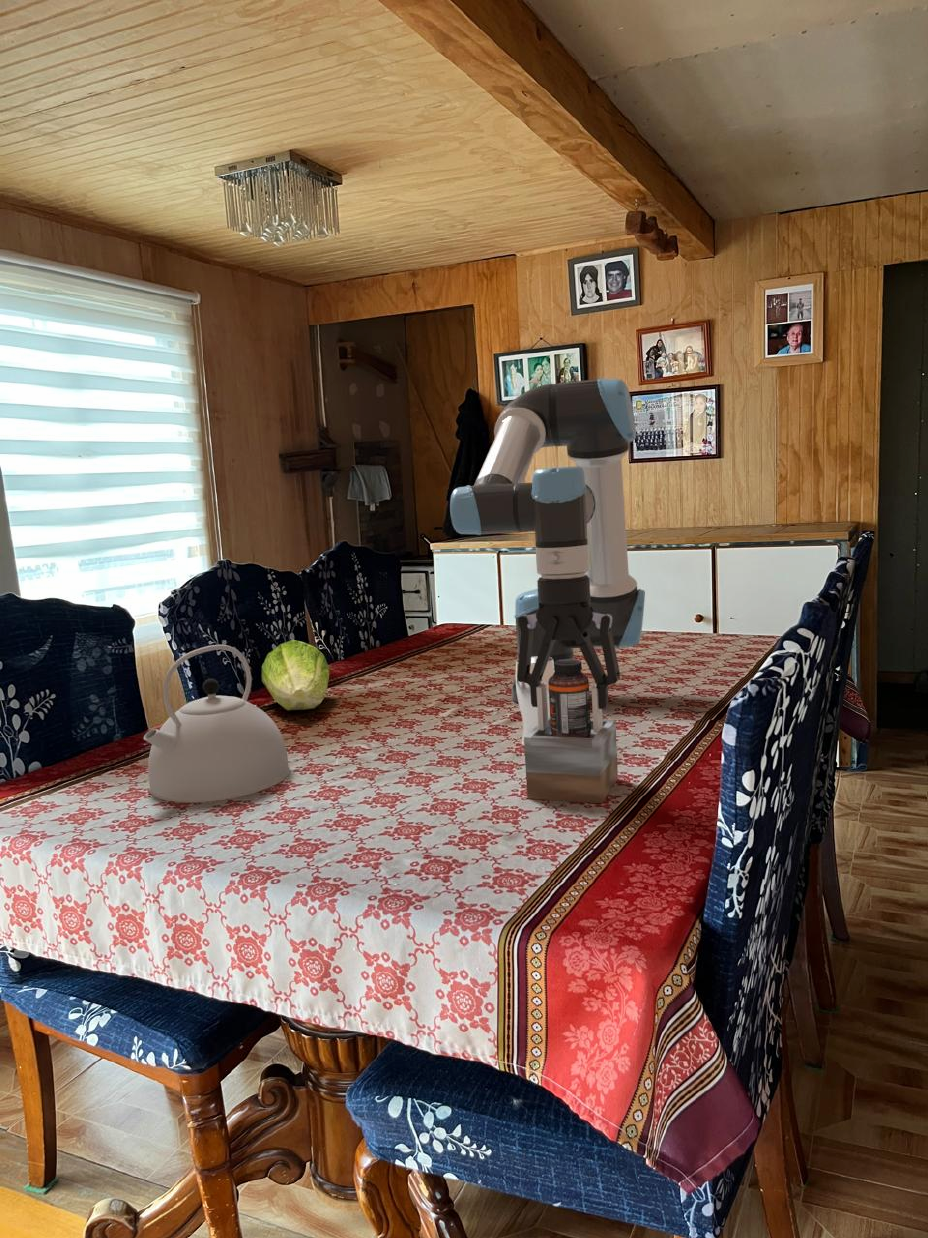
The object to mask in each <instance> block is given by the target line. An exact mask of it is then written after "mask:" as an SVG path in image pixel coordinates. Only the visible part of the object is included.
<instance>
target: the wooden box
mask: <svg viewBox="0 0 928 1238" xmlns="http://www.w3.org/2000/svg"><path fill="white" fill-rule="evenodd" d="M602 721H603V727H602V729H601V730H600V731H599V732H598V733H596V732H593V718H591V734H590V735H589V736H588V737H586V738H577V737H553V736H552V735H551V726H550V718H548V722H549V726H548V727H547V728H546V729H545V730H539V726H538V725H537V726H536V727H535V728H533V729H532V730H531V731H530V732H529V733H528V734H527V735H526V736H525V737H524V763H525V764H524V765H525V766H524V767H525V776H526V777H525V781H526V782H525V783H526V798H527V799H529V800H532V799H534V800H547V801H549V800H550V801H562V802H563V801H564V802H575V803H590V804H591V803H592V804H602V803H603V802H604V801H605V799H606V797H607V796H608V794H609V793H610V792H611V790H612V789H613V787H614V785H615V784H616V782H617V781H618V780H619V774H618V773H619V772H618V771H619V770H618V751H617V750H618V749H617V746H618V745H617V726H616V725H617V724H616V720H615V719H602Z"/></svg>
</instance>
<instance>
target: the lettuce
mask: <svg viewBox="0 0 928 1238" xmlns="http://www.w3.org/2000/svg"><path fill="white" fill-rule="evenodd" d="M329 679H330V667H329V665H328V662H327V660H326V657H325V655H324V654H323V653H322V652H321V651H320V650H319V649H318V648H317V647H316V646H314V645H311V644H309V643H306V642H304V641H300V640H295V639H291V640H289V641H286V642H283V643H281V644H279V645H278V646H277V647H275V648H273V650H271V651H270V652H268V653H267V655H266V657H265V659H264V662H263V663H262V666H261V682H262V683H263V685H264V686H265V688H266V689H267V691H268V692H269V693H270V694H269V695H270V696H271V697H272V699H274V701H275V702H276V703H278V704H279V705H280V706H281V707H283V708H284V709H285V710H287V711H304V710H305V711H306V710H311V709H315V708H317V707H318V706H319V705H320V704H321V703H322V701H323V700H324V699H325V698H324V697H325V695H326V693H327V691H328V684H329V681H330V680H329Z"/></svg>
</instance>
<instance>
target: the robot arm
mask: <svg viewBox="0 0 928 1238" xmlns="http://www.w3.org/2000/svg"><path fill="white" fill-rule="evenodd" d="M634 414H635V413H634V409H633V401H632V398H631V394H630V391H629V388H628V385H627V384H626V383H625V381H623V380H622V379H620V378H596V379H594V378H593V379H587V380H586V379H585V380H577V381H570V382H568V381H567V382H559V383H547V384H542V385H538V386H535V387H533V388H530V389H528V390H526V391H525V392H523V393H522V394H520V395H518V396H517V397H516V398H515V399H513V400H512V401H510V402H509V403H508V404H507V405H506V406H505V407H504V408H503V410H501V412H500V414H499V415H498V418H497V420H496V422H495V424H494V429H493V435H494V440H493V441H492V445H491V446H490V448H489V451H488V453H487V455H486V458H485V460H484V462H483V464H482V467H481V469H480V471H479V474H478V475H477V477H476V479H475V482H474V485H470V484H469V485H466V486H459V487H456V488H455V489H453V491H452V493H451V495H450V502H449V503H450V505H449V512H450V519H451V524H452V527H453V529H454V530H455V531H456V533H458V534H460V535H477V536H481V535H489V534H490V535H491V534H504V533H521V532H524V533H525V532H527V533H528V532H534V537H535V541H534V542H535V561H536V562H535V563H536V573H537V575H540V577H539V578H538V579H537V581H536V582H537V588H535V589H532V590H528V591H524V592H521V593H520V594H519V595H518V596H517V597H516V598H515V603H514V604H515V612H514V613H515V615H514V619H515V628H516V629H515V630H516V645H517V649H516V650H517V659H519V662H518V673H517V680H518V681H519V682H524V683H527V684H528V685H529V686H530V693H531V704H532V707H537V708H538V726H539V730H545V729H546V728H547V727H548V726H549V722H548V703H547V685H546V683H541V681H542V677H543V674H544V671H545V668H546V666H547V663H548V660H549V657H552V658H553V661H554V662H555V661H557V660H563V659H574V658H575V657H574V649H579V650H580V651H581V654H582V656H583V658H584V660H585V662H586V665H587V666H588V669H589V672H590V673H591V676H592V678H593V681H594V682H595V685H593V687H591V704H592V708H591V709H592V719H593V732H596V733H598V732H599V731H600V730H601V729H602V727H603V721H602V720H603V710H606V709H607V707H608V706H609V686H610V685H612V684H616V683H617V682H618V681H619V680H620V679H621V672H620V671H621V670H620V667H619V661H618V656H617V651H616V649H620V648H628V647H629V648H630V647H635V646H637V645H638V644H639V643H640V642H641V638H642V631H643V624H644V623H643V622H644V611H645V599H646V597H645V596H646V592H645V590H644V589H641V588H639V589H638V582H637V580H636V579H635V578H634V577H633V576H631V575H630V574H629V561H628V559H629V557H628V542H627V527H626V513H625V512H626V511H625V496H624V493H625V492H624V483H623V481H624V480H623V466H622V465H623V464H622V461H623V460H622V459H623V458H624V457H625V456H626V454H627V453H628V452H629V450H630V447H629V443H632V442H633V441H635V439H636V438H637V429H636V423H635V420H636V419H635V415H634ZM550 447H566V451H567V457H568V458H569V459H570V460H572V462H574V463H575V466H560V467H546V468H545V467H544V468H538V469H536V470H534V472H533V473H532V477H531V478H532V481H531V482H525V481H526V480H525V479H526V477H527V474H528V472H529V468H530V466H531V463H532V461H533V458H534V456H535V454H536V453H538V452H539V451H540V450H541V449H542V448H543V449H544V448H550ZM599 648H600V649H601V648H602V653H603V658H604V662H605V663H604V665H605V668H606V672H605V669H604V667H603V664H602V663H601V660H600V657H599V656H598V654H597V652H596V650H595V649H599ZM531 656H538V657H537V660H536V663H535V666H534V668H533V671H532V674H531V673H530V666H531ZM511 700H512V701H513V702H515V703H517V704H519V702H518V697H517V692H516V673H515V675H514V678H513V683H512V686H511Z"/></svg>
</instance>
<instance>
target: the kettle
mask: <svg viewBox="0 0 928 1238" xmlns="http://www.w3.org/2000/svg"><path fill="white" fill-rule="evenodd" d="M215 650H219V651H220V650H223V651H229V652H231V653H233V654H234V655H235V656H237V657H238V658H239V660H240V661H241V663H242V665H243V668H244V671H245V675H246V683H245V690H244V693H243V695H242V698H240V697H237V696H228V695H216V693H218V691H219V690H220V684H219V682H218V681H217V680H216V679H214V678H208V679H206V680H205V681H204V682H203V683H202V690H203V692H204V693H205V694H207V696H205V697H202V698H199V699H198V698H197V699H194V700H192V701H189V702H188V703H186V704H185V705H183V706H181V707H180V708H179V709H178V710H176V711H174V710H173V708H172V705H171V703H170V702H171V701H170V696H169V689H170V687H169V686H170V681H171V679H172V676H173V674H174V672H175V671H176V670H177V668H178V667H179V666H180V665H181V664H183V663H184V662H185V661H187V660H188V659H191V658H193V657H195V656H198V655H201V654H203V653H206V652H211V651H215ZM162 687H163V688H162V691H163V692H162V696H163V697H162V698H163V702H164V707H165V709H166V711H167V714H168V715H169V717H168V718H167V720H166V721H165V722H164V723H163V724H162V726H161V727H160V729H156V728H153V729H150V730H149V731H148V732H146V733H145V734H144V736H143V740H144V741H146V742H147V743H149V744H151V747H150V751H149V754H148V755H149V756H148V764H147V765H148V766H147V769H148V772H147V773H148V783H149V784H148V786H149V787H148V791H149V793H150V795H151V796H152V797H155V798H156V799H158V798H159V800H162V801H168V802H172V801H173V802H174V803H206V802H207V801H208V802H216V800H217V801H224V800H228V799H229V800H230V799H235V798H240V797H244V796H247V795H248V796H249V795H251V794H255V793H259V792H261V791H265V790H266V789H270V788H272V787H274V786H276V785H277V784H279V783H281V782H282V781H284V780H286V778H287V777H288V776H289V774H290V767H289V758H288V750H287V747H286V743H285V739H284V737H283V735H282V733H281V731H280V729H279V727H278V726H277V724H276V723H275V722H274V721H273V719H272V718H271V716H269V715H268V714H267V713H266V712H264V710H262V709H261V708H259V707H258V706H256V705H255V704H253V703H250V702H249V701H248V698H249V696H250V693H251V688H252V673H251V669H250V665H249V662H248V661H247V659H246V656H244V655H243V653H242V652H240V651H239V650H238V649H236V648H235V647H232V646H230V645H226V644H215V645H214V644H212V645H207V646H203V647H200V648H196V649H194V650H192V651H189V652H187V653H185V654H184V655H182V656H181V657H179V658H178V659H177V660H175V662H174V663H173V664H172V665H171V666H170V668H169V669H168V671H167V673H166V675H165V678H164V682H163V686H162Z"/></svg>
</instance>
